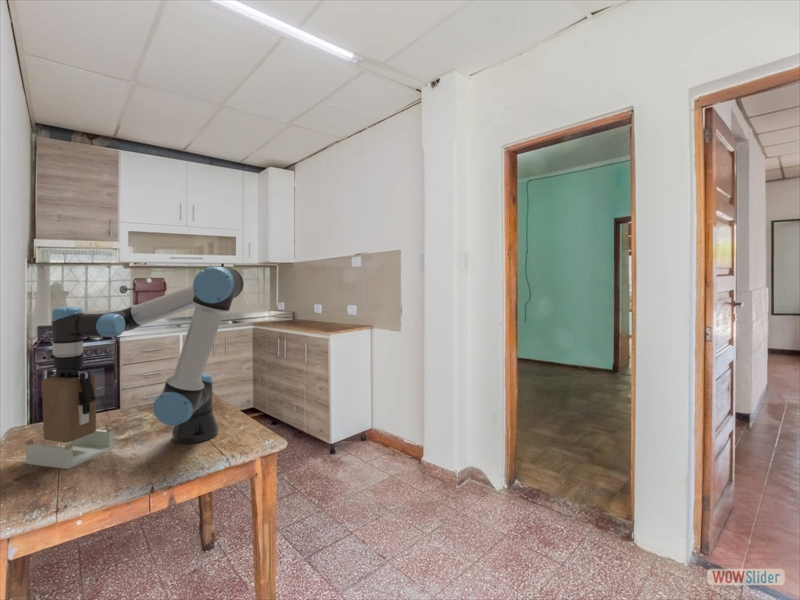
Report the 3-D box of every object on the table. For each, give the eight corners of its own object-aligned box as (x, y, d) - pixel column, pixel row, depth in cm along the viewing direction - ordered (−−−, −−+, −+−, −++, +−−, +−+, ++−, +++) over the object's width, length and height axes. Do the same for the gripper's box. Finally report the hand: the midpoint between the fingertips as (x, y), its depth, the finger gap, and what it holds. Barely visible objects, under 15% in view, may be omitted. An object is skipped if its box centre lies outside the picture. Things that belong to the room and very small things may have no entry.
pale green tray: (113, 447, 137) (113, 427, 136) (68, 469, 121) (67, 446, 121) (75, 443, 140) (74, 423, 139) (26, 463, 124) (25, 441, 124)
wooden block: (67, 444, 124) (65, 381, 123) (42, 440, 126) (40, 379, 125) (97, 432, 134) (96, 373, 133) (73, 429, 136) (72, 371, 135)
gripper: (108, 354, 130) (110, 420, 131) (52, 350, 134) (54, 415, 136) (86, 359, 123) (88, 429, 124) (27, 355, 127) (30, 423, 128)
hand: (70, 422), depth 130 cm, fingers closed on wooden block, 10 cm apart
